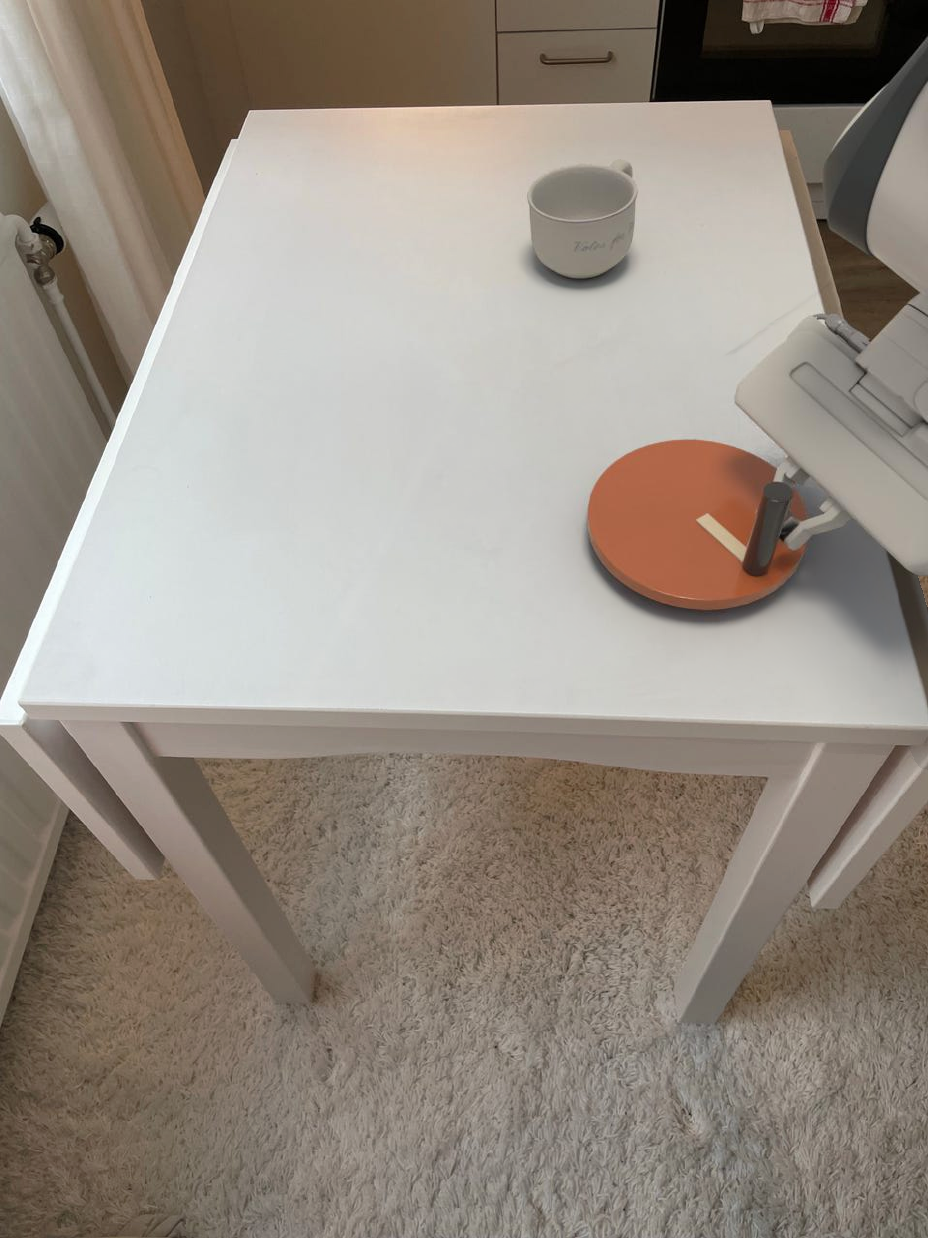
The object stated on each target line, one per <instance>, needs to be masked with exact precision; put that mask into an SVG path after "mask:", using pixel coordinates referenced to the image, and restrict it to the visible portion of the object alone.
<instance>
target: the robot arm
mask: <svg viewBox="0 0 928 1238" xmlns="http://www.w3.org/2000/svg"><path fill="white" fill-rule="evenodd" d="M822 194H823V204H824V209H825V210H824V212H825V216H826V221H827V227H828V228H829V230H830V231H832V232H833V233H835V234H836V235H838V236H839V237H841V238H842V239H843V240H846V241H847V242H848V243H850V244H851V245H853V246H855V247H856V248H857V249H859V250H861V251H862V252H864V253H865V254H867V255H868V256H870V257H871V258H873V259H877V260H879V261H880V262H882V263H883V264H884V265H885V266H886V267H888V268H889V269H890V270H891V271H892V272H894V273H895V274H896V275H898V276H899V277H900V278H901V279H903V280H904V281H905V282H906V283H908V285H910V286H911V287H912V288H914V289H915V290H916V291H917V292H919V293H918V294H916V295H915V296H913V297H912V298H910V300H909V301H908V302H907V303H906V304H905V305H904V306H903V307H902V308H901V309H900V310H899V311H898V313H897V314H895V316H894V317H893V318H892V319H891V320H890V321H888V323H887V324H886V325H885V326H884V327H883V328H882V329H881V330H880V331H879V332H878V334H877V335H876V336H875V337H874V338H873V339H872V340H871V339H870V338H869V337H868V336H866V335H865V334H863V333H862V332H860V331H859V330H857V329H856V328H854V327H853V326H851V325H850V324H849V322H848V321H847V320H846V319H845V318H844V317H842V316H841V315H839V314H837V313H834V312H832V313H829V314H827V313H816V314H812V315H808V316H807V317H805V318H804V319H802V321H800V322H799V323H798V324H797V325H796V326H795V328H794V329H793V330H792V331H791V332H790V333H789V334H788V336H787V338H786V339H785V340H784V341H783V342H782V343H780V344H779V345H778V346H777V347H775V348H774V349H773V350H772V351H771V352H769V353H768V354H767V355H766V356H765V357H764V358H763V359H762V360H761V361H760V362H758V363H757V365H755V366H754V367H753V368H752V369H751V370H750V371H749V372H748V373H747V374H746V376H744V377H742V379H741V381H739V382H738V384H737V386H736V390H735V393H734V394H735V395H734V400H733V401H734V404H735V405H736V406H737V407H738V408H739V410H741V411H742V412H743V414H745V415H746V416H747V417H748V418H749V419H750V420H751V421H752V422H753V423H754V424H755V425H756V426H758V428H759V429H761V431H762V432H764V434H766V435H767V437H769V438H770V440H771V441H772V442H774V443H775V444H776V445H777V446H778V447H779V448H780V449H781V450H782V451H783V452H784V453H785V454H786V455H787V456H786V457H785V459H783V461H782V462H781V463H779V465H778V466H777V467H776V469H777V471H776V474H775V478H774V481H773V482H775V481H777V482H783V483H785V484H787V485H789V486H790V487H791V488H792V490H793V487H795V484H798V485H799V486H803V485H804V484H805V483H806V482H807V481H808V480H809V479H810V478H811V479H812V480H813V481H814V482H815V483H816V484H817V485H818V486H819V487H821V489H823V491H824V492H825V493H826V494H827V495H829V497H827V498H826V499H825V501H824V502H823V503H822V504H821V505H820V506H819V510H820V511H821V512H822V514H819V515H816V516H813V517H811V518H808V519H807V520H805V521H800V520H798V519H796V518H794V517H792V516H791V515H792V514H793V512H792V511H791V510H790V509H789V510H788V513H787V516H786V519H785V520H786V521H785V522H784V526H783V528H782V532H781V535H780V538H779V539H780V540H781V541H782V542H783V543H784V544H785V545H786V546H787V547H788V548H789V549H792V550H797V549H799V548H800V547H801V546H802V545H803V544H804V543H805V542H806V541H807V540H808V541H809V539H810V538H811V537H812V536H813V535H819V534H823V533H827V532H830V531H833V530H837V529H840V528H843V527H844V526H845V525H846V524H847V523H848V522H849V521H851V519H853V520H855V522H857V523H858V524H859V525H860V526H861V527H862V528H863V529H864V530H865V531H866V532H867V533H868V534H869V535H870V536H871V538H873V539H874V540H875V541H876V542H877V543H878V544H879V545H880V546H881V547H883V548H884V550H885V551H886V552H888V553H889V554H890V555H891V557H893V558H894V559H895V560H896V561H897V562H898V563H899V564H900V565H901V566H902V567H903V568H905V569H906V570H907V571H909V572H911V573H912V574H914V575H917V576H919V577H928V36H927V37H926V38H925V39H924V41H922V43H921V44H920V45H919V47H918V48H917V49H916V50H915V52H914V53H913V54H912V55H911V56H910V57H909V59H908V60H907V61H906V62H905V64H903V66H902V67H901V68H900V69H899V70H898V72H897V73H896V74H895V75H894V76H893V78H891V80H890V81H889V82H888V83H887V84H885V86H883V87H882V88H881V89H880V90H879V91H878V92H877V93H876V94H875V95H874V96H873V97H871V98H870V100H869V101H867V102H866V104H865V105H864V106H863V107H862V108H861V109H860V110H859V111H858V112H857V113H856V115H854V117H853V118H852V119H851V120H850V121H849V123H848V124H847V125H846V127H845V128H844V129H843V131H842V132H841V134H840V136H839V137H838V138H837V140H836V142H835V144H834V145H833V147H832V150H831V151H830V153H829V155H828V157H827V159H826V160H825V162H824V165H823V167H822ZM820 320H823V321H824V323H823V322H821V321H820ZM757 510H758V509H757ZM757 510H756V513H757ZM808 541H807V542H808Z"/></svg>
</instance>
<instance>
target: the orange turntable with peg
mask: <svg viewBox="0 0 928 1238" xmlns="http://www.w3.org/2000/svg"><path fill="white" fill-rule="evenodd" d="M776 471H777V467H775V466H774V465H772V464H771V463H769V462H768V461H766V459H763V458H761V457H760V456H757V455H755V454H753V453H752V452H750V451H747V450H745V449H742V448H739V447H737V446H733V445H731V444H730V445H729V444H726V443H722V442H717V441H712V440H704V439H687V438H686V439H671V440H664V441H658V442H655V443H650V444H647V445H644V446H642V447H638V448H636V449H634V450H632V451H630V452H627V453H626V454H624V455H622V456H621V457H619V458H618V459H616V460H615V461H614V462H613V463H611V464H610V465H609V466H608V467H607V468H606V469H605V470H604V471H603V473H602V474H600V476H599V477H598V479H597V480H596V482H595V484H594V485H593V488H592V490H591V493H590V495H589V499H588V504H587V517H586V528H587V533H588V534H587V535H588V537H589V542H590V544H591V547H592V548H593V551H594V553H595V554H596V556H597V558H598V559H599V560H600V562H601V564H602V565H603V566H604V567H605V569H606V570H607V571H608V572H609V573H610V574H611V575H612V576H613V577H614V578H615V579H617V580H618V581H619V582H621V583H622V584H623V585H625V586H626V587H628V588H629V589H631V590H632V591H634V592H635V593H637V594H639V595H641V596H643V597H646V598H648V599H650V600H653V601H655V602H658V603H660V604H665V605H669V606H673V607H675V608H682V609H687V610H688V609H689V610H702V611H710V610H713V611H714V610H725V609H731V608H736V607H737V608H738V607H741V606H744V605H748V604H751V603H753V602H756V601H759V600H761V599H763V598H765V597H767V596H768V595H771V594H772V593H774V592H775V591H776V590H778V589H780V587H782V586H783V585H784V584H785V583H786V582H787V581H788V580H789V579H790V578H791V577H792V576H793V575H794V574H795V572H796V570H797V568H798V567H799V566H800V564H801V561H802V559H803V556H804V554H805V551H806V548H807V545H808V541H809V539H808V540H807V541H806V542H805V543H804V544H803V545H802V546H801V547H800V548H799V549H797V550H792V549H789V548H788V547H787V546H786V545H785V544H784V543H783V542H782V541H781V540H780V539H779V538H780V535H781V532H782V528H783V526H784V522H785V521H786V520H785V519H786V516H787V513H788V510H789V509H790V510H791V511H792V512H793V514H792V515H791V516H792V517H794V518H796V519H798V520H800V521H805V520H807V519H809V514H808V511H807V508H806V505H805V502H804V500H803V498H802V497H801V495H800V492H799V491H798V490H797V489H796V487H795V486H794V487H793V490H792V488H791V487H790V486H789V485H787V484H785V483H783V482H777V481H775V482H773V481H774V478H775V474H776ZM757 509H758V510H757ZM756 510H757V513H756Z"/></svg>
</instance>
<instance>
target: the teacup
mask: <svg viewBox="0 0 928 1238" xmlns="http://www.w3.org/2000/svg"><path fill="white" fill-rule="evenodd" d="M633 176H634V171H633V167H632V164H631V163H630V162H629V161H628V160H625V159H616V160H614V161H613V162H612V163H611V164H610V165H609V166H607V165H603V164H592V163H591V164H590V163H589V164H588V163H586V164H585V163H583V164H582V163H581V164H573V165H568V166H563V167H559V168H556V169H553V170H550V171H548V172H546V173H544V174H542V175H540V176H539V177H538V178H536V180H535V181H533V183H531V185H530V186H529V188H528V191H527V193H526V199H527V204H528V209H529V212H528V213H529V228H530V236H531V237H530V238H531V243H532V248H533V251H534V253H535V255H536V257H537V258H538V260H539V261H540V262H541V263H542V264H543V265H544V266H545V267H547V268H548V269H550V270H552V271H554V272H555V273H556V274H558V275H560V276H564V277H567V278H570V279H589V278H594V277H597V276H600V275H602V274H604V273H606V272H608V271H609V270H611V268H613V267H615V266H616V265H617V264H619V263H620V262H621V261H622V260H623V259H624V258H625V257H626V255H627V254H628V253H629V250H630V249H631V246H632V243H633V238H634V231H635V220H636V200H637V197H638V193H639V191H638V185H637V183H636V181H635V180H634V179H633Z"/></svg>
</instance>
